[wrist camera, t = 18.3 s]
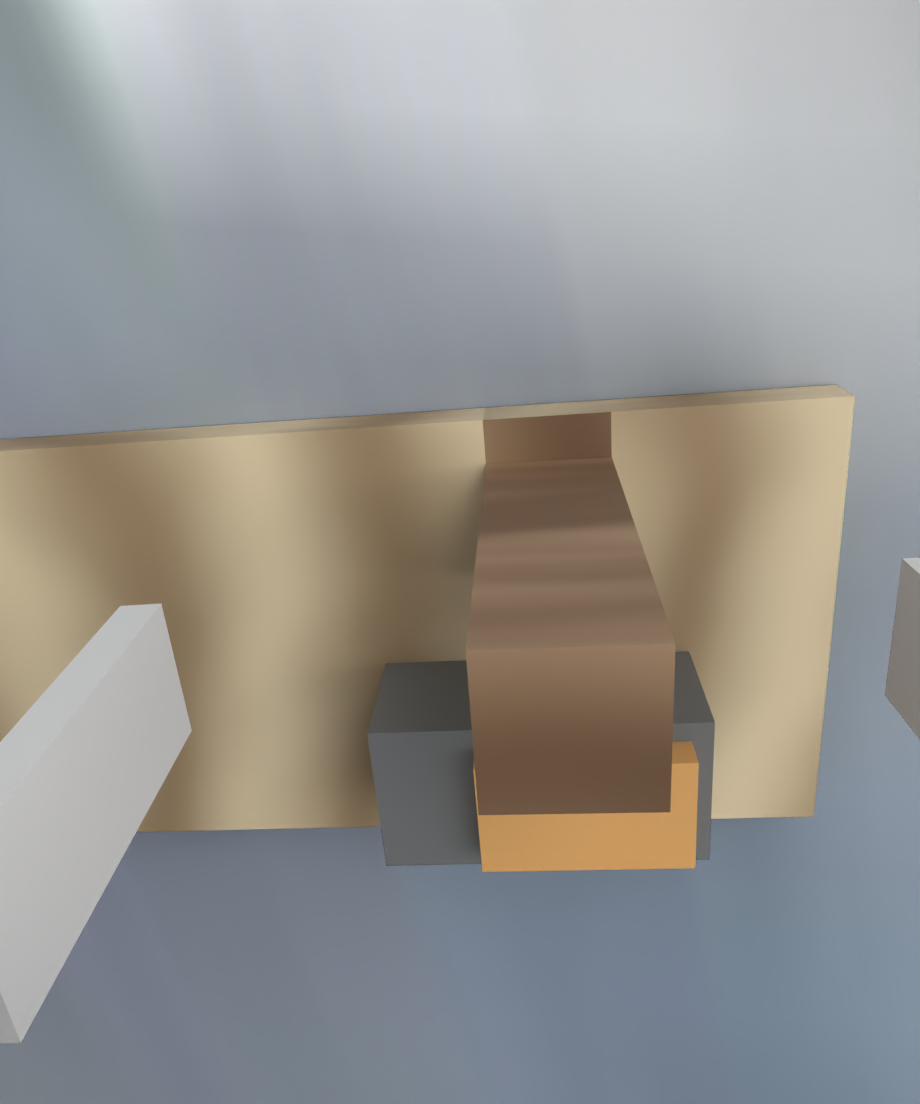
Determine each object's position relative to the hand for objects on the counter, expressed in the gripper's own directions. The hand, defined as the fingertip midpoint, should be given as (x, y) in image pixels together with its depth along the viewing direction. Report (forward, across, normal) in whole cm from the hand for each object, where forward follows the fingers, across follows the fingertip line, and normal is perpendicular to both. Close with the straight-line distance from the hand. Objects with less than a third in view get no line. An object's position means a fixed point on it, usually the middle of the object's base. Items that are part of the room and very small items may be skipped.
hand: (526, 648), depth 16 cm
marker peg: (+6, +1, 0) cm, 6 cm away
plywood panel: (+8, -4, -3) cm, 9 cm away
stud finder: (+6, 0, -6) cm, 9 cm away
